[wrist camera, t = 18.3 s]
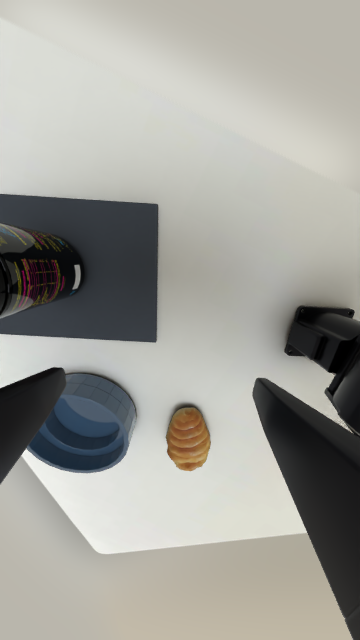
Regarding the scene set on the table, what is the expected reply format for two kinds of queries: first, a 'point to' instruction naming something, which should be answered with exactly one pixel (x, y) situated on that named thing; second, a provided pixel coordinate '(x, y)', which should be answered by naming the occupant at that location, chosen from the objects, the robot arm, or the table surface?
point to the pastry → (188, 439)
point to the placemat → (94, 268)
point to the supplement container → (36, 269)
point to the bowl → (86, 426)
